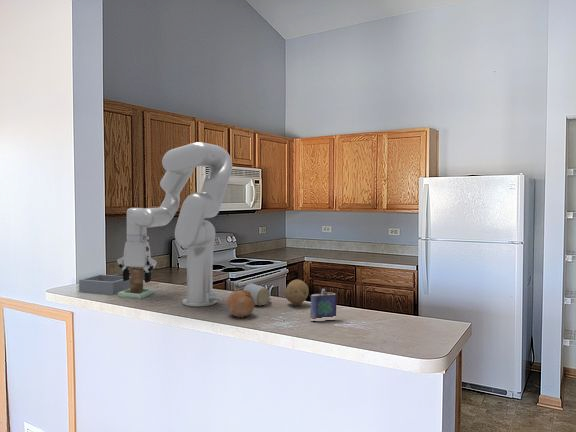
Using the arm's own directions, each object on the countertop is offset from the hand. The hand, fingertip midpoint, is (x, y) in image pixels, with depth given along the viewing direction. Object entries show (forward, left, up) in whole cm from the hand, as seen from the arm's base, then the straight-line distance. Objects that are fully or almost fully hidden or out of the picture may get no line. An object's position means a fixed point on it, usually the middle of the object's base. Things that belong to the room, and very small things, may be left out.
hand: (136, 281), depth 183 cm
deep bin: (+17, -4, -6) cm, 19 cm away
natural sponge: (-65, -5, -6) cm, 65 cm away
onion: (-50, +15, -6) cm, 52 cm away
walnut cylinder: (0, 0, -5) cm, 5 cm away
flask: (-78, +11, -6) cm, 79 cm away
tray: (0, 0, -6) cm, 6 cm away
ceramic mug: (-50, -3, -6) cm, 51 cm away
